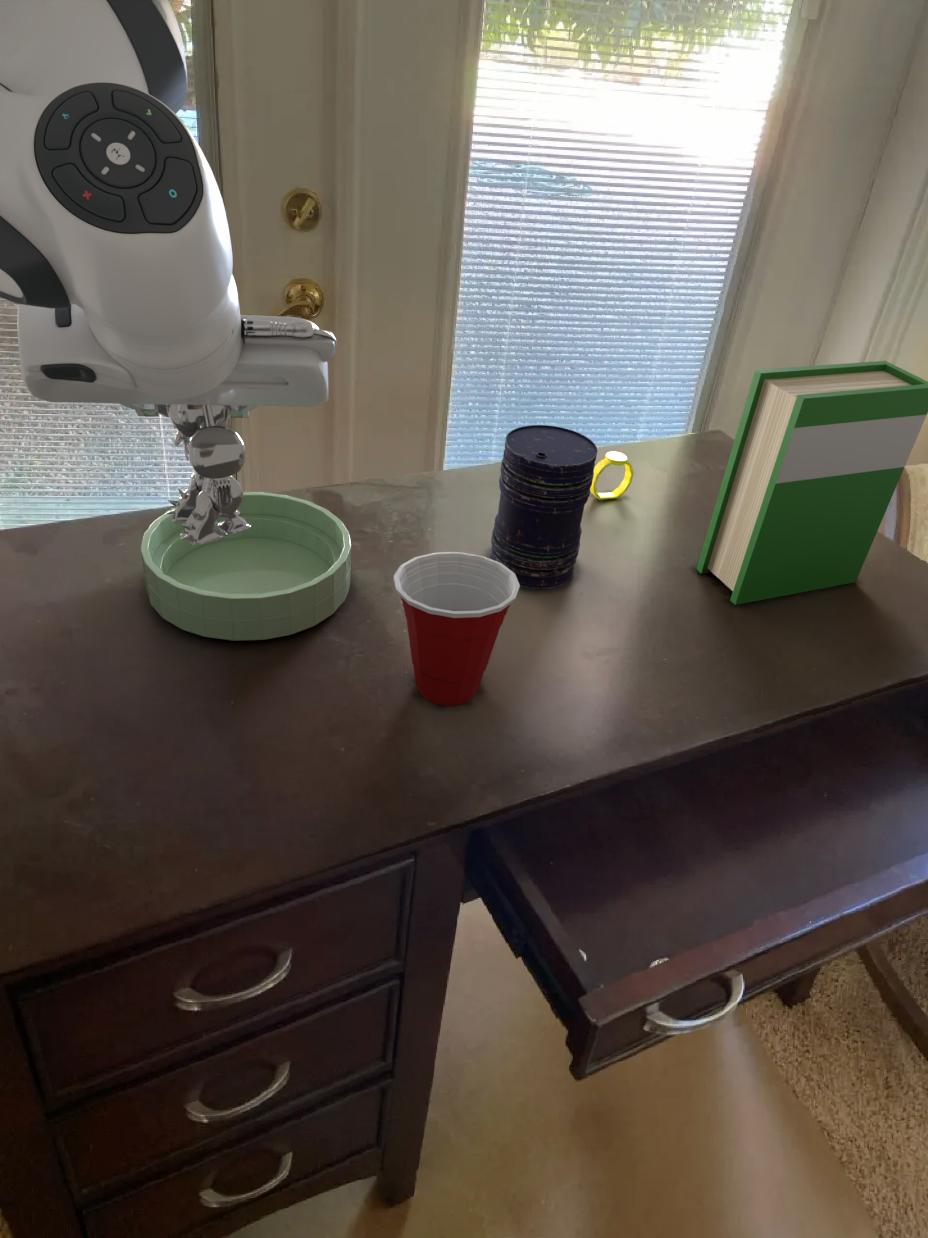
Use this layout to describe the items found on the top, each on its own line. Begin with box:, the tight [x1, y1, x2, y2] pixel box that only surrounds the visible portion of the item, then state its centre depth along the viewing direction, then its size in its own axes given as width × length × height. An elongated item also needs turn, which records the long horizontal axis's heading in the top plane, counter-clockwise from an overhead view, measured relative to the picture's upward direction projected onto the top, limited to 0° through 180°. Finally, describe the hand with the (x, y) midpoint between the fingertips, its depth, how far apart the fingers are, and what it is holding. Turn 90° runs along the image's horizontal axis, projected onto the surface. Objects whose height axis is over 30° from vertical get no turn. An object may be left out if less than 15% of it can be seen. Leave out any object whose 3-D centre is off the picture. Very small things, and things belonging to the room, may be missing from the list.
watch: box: [590, 451, 635, 501], centre depth 114 cm, size 6×3×6 cm, turn 115°
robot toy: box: [157, 404, 251, 546], centre depth 69 cm, size 15×6×15 cm, turn 29°
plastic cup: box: [393, 551, 521, 707], centre depth 79 cm, size 11×11×12 cm
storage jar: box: [489, 424, 598, 590], centre depth 96 cm, size 10×10×15 cm
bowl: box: [140, 491, 352, 642], centre depth 91 cm, size 20×20×6 cm
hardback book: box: [696, 360, 928, 606], centre depth 97 cm, size 18×7×24 cm, turn 113°
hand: (194, 408), depth 68 cm, fingers closed on robot toy, 5 cm apart
